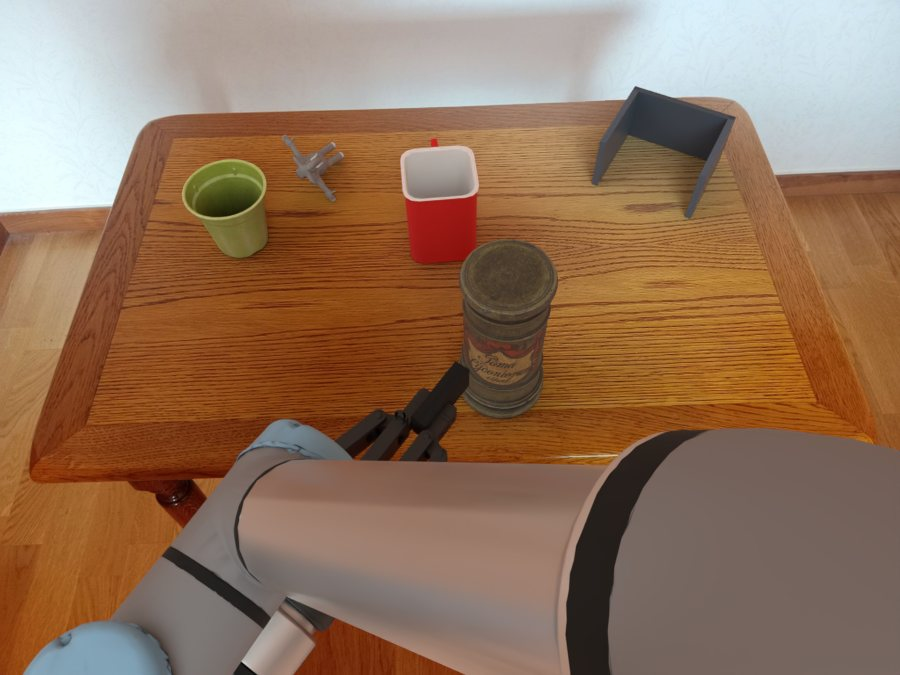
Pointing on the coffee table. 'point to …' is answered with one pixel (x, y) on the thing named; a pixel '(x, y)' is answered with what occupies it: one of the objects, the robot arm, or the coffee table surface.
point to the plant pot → (230, 205)
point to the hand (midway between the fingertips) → (462, 373)
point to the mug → (440, 202)
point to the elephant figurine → (314, 164)
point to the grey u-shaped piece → (667, 133)
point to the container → (505, 325)
